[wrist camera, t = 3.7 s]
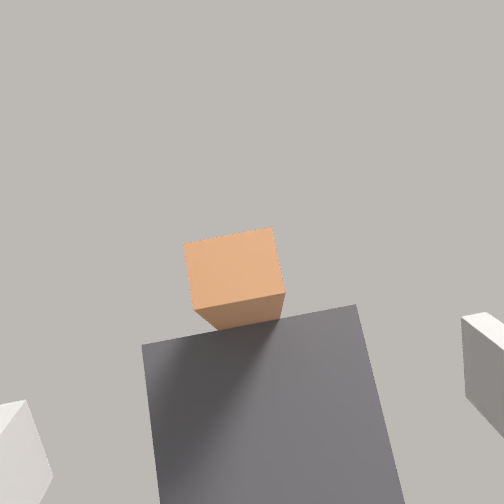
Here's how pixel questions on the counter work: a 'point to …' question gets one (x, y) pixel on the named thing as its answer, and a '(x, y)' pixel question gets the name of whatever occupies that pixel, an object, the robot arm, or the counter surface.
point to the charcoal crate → (270, 415)
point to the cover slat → (236, 278)
